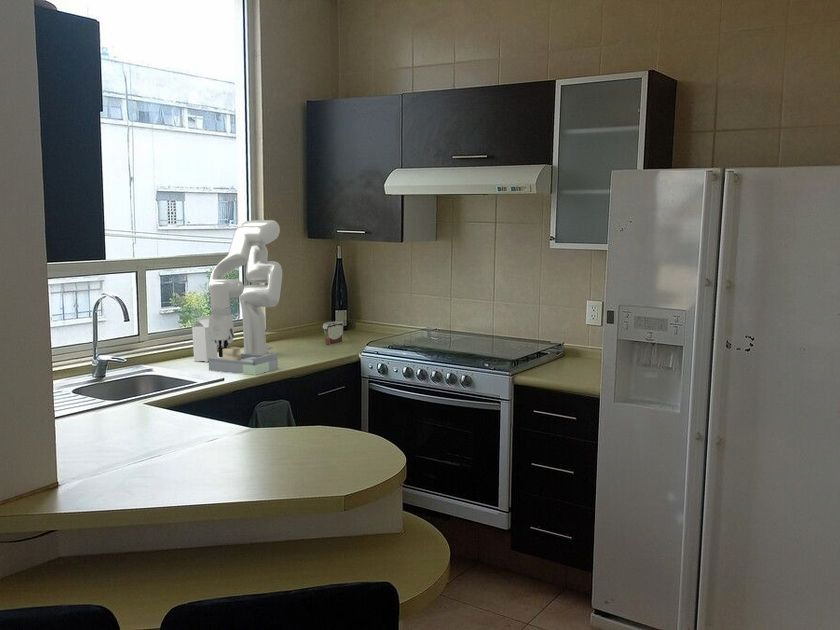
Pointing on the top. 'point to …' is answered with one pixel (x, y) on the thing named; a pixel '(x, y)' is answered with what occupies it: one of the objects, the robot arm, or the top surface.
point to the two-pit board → (245, 364)
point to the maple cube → (232, 353)
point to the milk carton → (203, 341)
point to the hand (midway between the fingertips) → (223, 356)
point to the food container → (333, 332)
